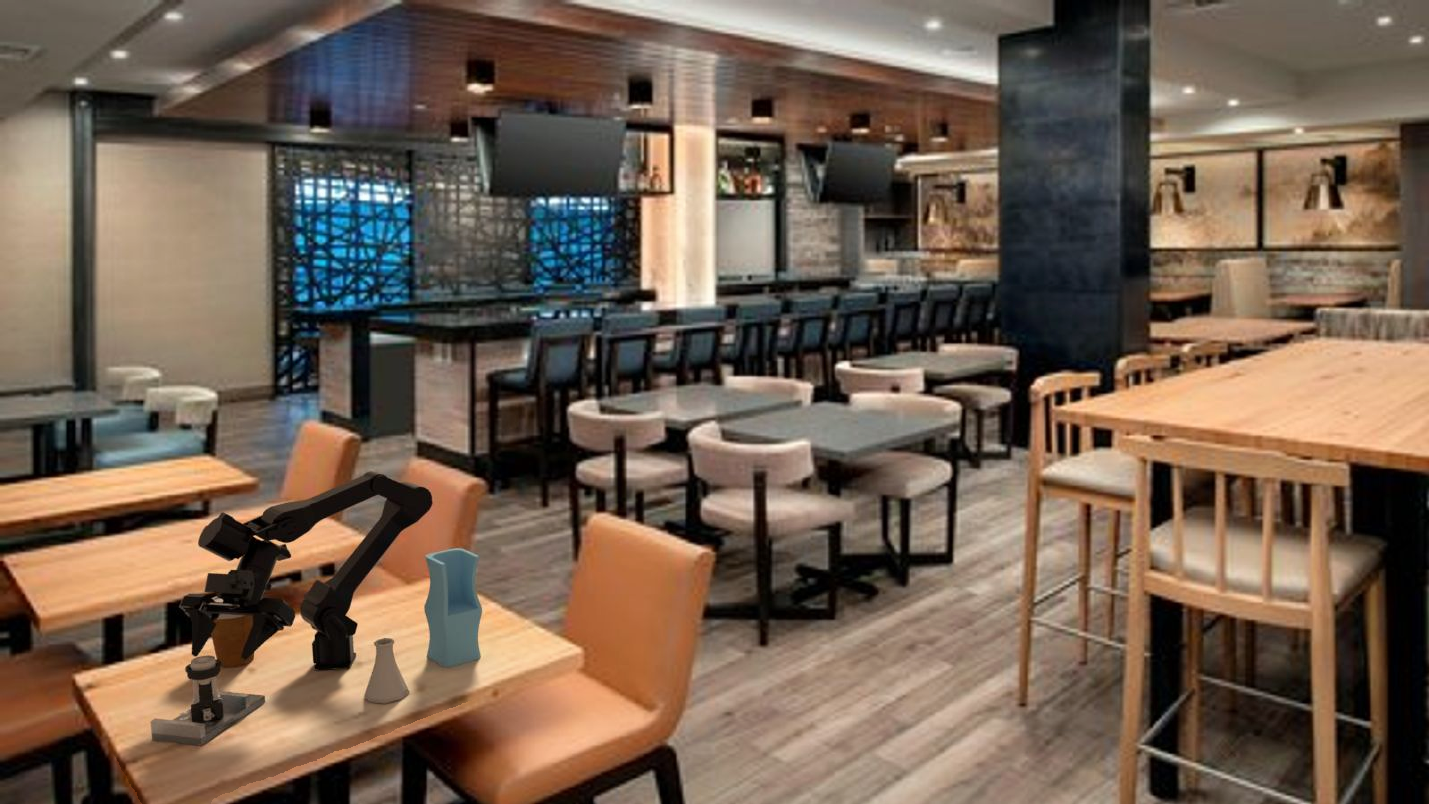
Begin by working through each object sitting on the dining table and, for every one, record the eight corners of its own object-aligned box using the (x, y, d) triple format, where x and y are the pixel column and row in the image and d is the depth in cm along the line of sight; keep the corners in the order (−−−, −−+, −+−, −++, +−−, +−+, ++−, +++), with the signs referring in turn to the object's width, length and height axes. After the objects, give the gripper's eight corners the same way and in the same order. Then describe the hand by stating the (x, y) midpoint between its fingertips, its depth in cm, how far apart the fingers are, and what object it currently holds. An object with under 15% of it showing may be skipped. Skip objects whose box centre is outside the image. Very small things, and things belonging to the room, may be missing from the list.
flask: (384, 708, 177) (381, 652, 175) (356, 698, 180) (353, 643, 179) (417, 693, 183) (414, 638, 181) (389, 683, 186) (386, 630, 185)
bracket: (219, 697, 181) (218, 680, 180) (265, 702, 179) (264, 684, 179) (152, 740, 165) (150, 721, 165) (201, 745, 164) (200, 726, 163)
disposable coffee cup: (209, 655, 199) (204, 595, 198) (263, 648, 203) (259, 589, 201) (206, 674, 191) (201, 611, 189) (263, 666, 194) (258, 604, 193)
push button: (180, 729, 166) (175, 670, 165) (180, 716, 171) (175, 658, 170) (226, 720, 169) (221, 662, 168) (224, 707, 174) (220, 651, 173)
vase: (445, 668, 193) (441, 564, 190) (426, 656, 199) (421, 555, 196) (483, 657, 198) (480, 556, 195) (463, 645, 204) (459, 547, 201)
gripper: (181, 548, 177) (141, 634, 168) (279, 553, 174) (244, 641, 165) (215, 577, 186) (179, 660, 177) (310, 582, 183) (277, 668, 174)
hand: (218, 657), depth 173 cm, fingers open, 9 cm apart
